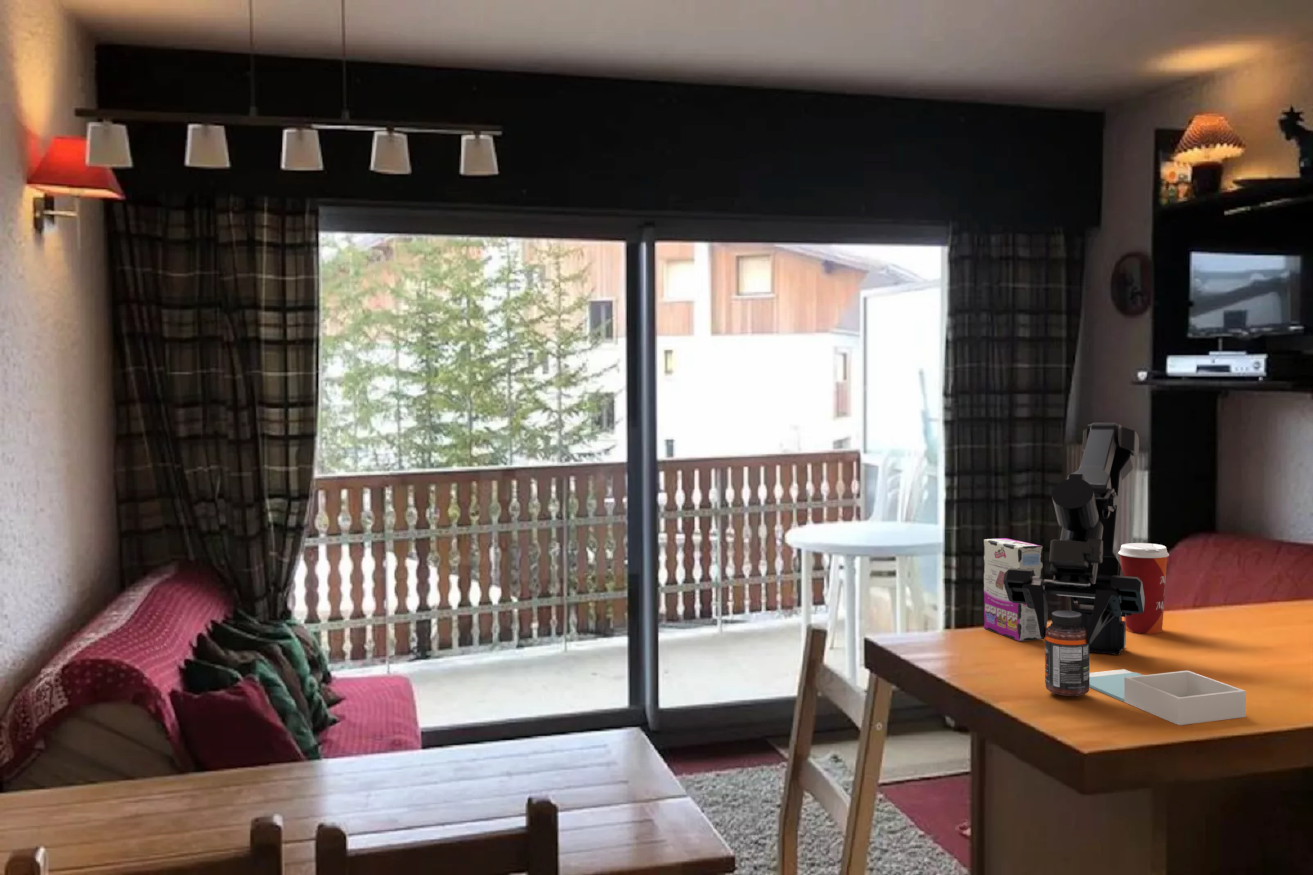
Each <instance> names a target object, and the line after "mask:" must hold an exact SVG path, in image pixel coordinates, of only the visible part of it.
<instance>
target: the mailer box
mask: <svg viewBox="0 0 1313 875" xmlns="http://www.w3.org/2000/svg"><path fill="white" fill-rule="evenodd" d="M1089 676H1090V679H1089V682H1090V685H1089V689H1091V690H1092V689H1093V690H1095V691H1097V692H1100V693H1102V694H1104V695H1107V696H1109V697H1112V698H1114V699H1116V700H1118V701H1121V702H1123V703H1125V704H1128V705H1131V706H1132V707H1135V708H1138V709H1140V710H1142V711H1144V712H1147V713H1149V714H1151V715H1154V716H1157V717H1159V718H1161V719H1162V720H1165V721H1167V722H1171V723H1172V724H1175V725H1178V726H1183V725H1184V726H1185V725H1191V724H1200V723H1208V722H1214V721H1216V722H1217V721H1223V720H1232V719H1233V720H1234V719H1239V718H1246V717H1247V716H1246V714H1247V713H1246V708H1247V707H1246V705H1247V698H1246V697H1247V691H1246V690H1245V689H1242V688H1239V687H1236V686H1233V685H1230V684H1227V683H1225V682H1221V681H1218V680H1217V679H1213V678H1211V677H1207V676H1205V675H1201V674H1198V673H1197V672H1193V671H1190V670H1179V671H1170V672H1169V671H1168V672H1161V673H1154V674H1142V673H1139V672H1136V671H1135V672H1133V671H1130V670H1127V669H1125V668H1122V669H1115V670H1114V669H1113V670H1105V671H1096V672H1095V671H1094V672H1090V674H1089Z"/></svg>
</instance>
